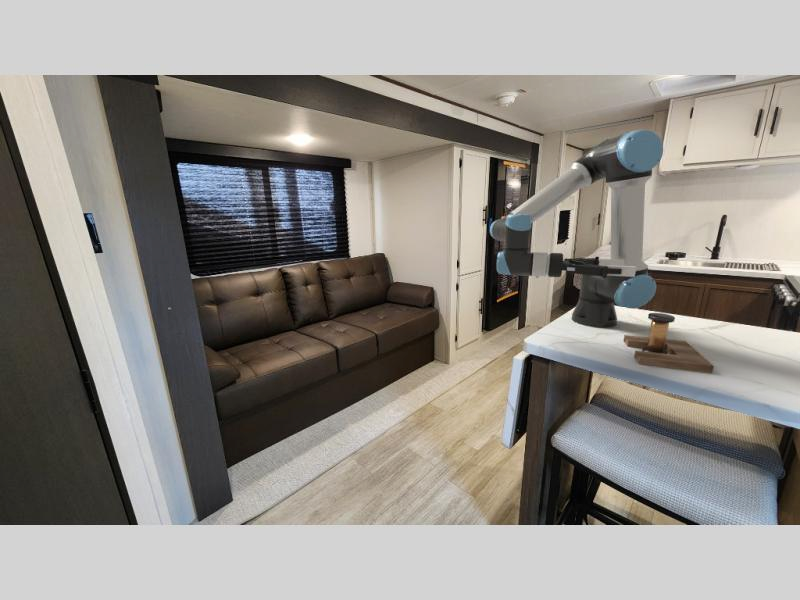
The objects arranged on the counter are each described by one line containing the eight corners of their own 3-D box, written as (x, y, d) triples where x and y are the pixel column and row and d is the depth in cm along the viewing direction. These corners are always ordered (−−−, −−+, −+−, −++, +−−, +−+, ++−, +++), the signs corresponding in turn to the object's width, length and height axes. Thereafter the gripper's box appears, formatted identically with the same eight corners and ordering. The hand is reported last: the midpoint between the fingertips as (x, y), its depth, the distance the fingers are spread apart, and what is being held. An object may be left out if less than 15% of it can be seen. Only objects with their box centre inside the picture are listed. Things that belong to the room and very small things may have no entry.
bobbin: (639, 348, 100) (645, 312, 96) (662, 351, 97) (670, 313, 94) (645, 356, 94) (652, 318, 91) (670, 359, 92) (678, 320, 89)
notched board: (623, 340, 106) (624, 334, 105) (683, 346, 100) (685, 340, 99) (639, 364, 90) (640, 357, 89) (712, 373, 84) (713, 366, 83)
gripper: (546, 270, 112) (617, 272, 104) (548, 284, 91) (638, 289, 82) (548, 248, 111) (621, 249, 102) (550, 258, 89) (643, 260, 81)
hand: (629, 267), depth 92 cm, fingers open, 13 cm apart
